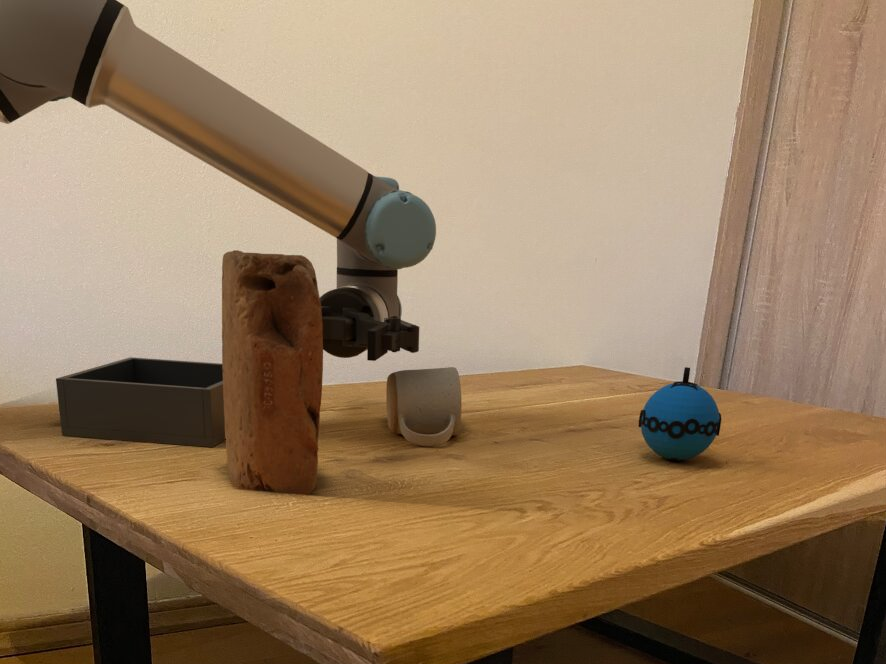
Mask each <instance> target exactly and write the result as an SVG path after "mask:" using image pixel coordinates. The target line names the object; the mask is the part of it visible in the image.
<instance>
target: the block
mask: <svg viewBox="0 0 886 664" xmlns="http://www.w3.org/2000/svg"><path fill="white" fill-rule="evenodd" d="M221 264H222V265H221V272H222V273H221V343H222V344H221V364H222V370H223V400H224V418H225V439H226V440H225V449H226V459H227V471H228V474H229V477H230V480H231V482H232V483H233V485H234V487H235V488H237V489H238V490H241V491H254V492H264V493H265V492H267V493H278V494H288V495H289V494H290V495H291V494H292V495H301V496H308V495H310V494H311V493H312V492H313V490H315V488H316V486H317V478H318V465H319V464H318V463H319V460H318V459H319V455H318V453H319V444H318V443H319V432H320V422H321V421H320V420H321V418H320V417H321V406H322V398H323V397H322V395H323V378H324V377H323V375H324V374H323V372H324V350H323V324H322V311H321V302H320V297H321V296H320V292H319V286H318V280H317V274H316V269H315V267H314V266H313V263H312V262H311V261H310V259H308V257H306V256H304V255H301V254H283V253H260V252H244V251H241V250H236V249H234V250H232V251H227V252H225V253H224V254H223V255H222V262H221Z"/></svg>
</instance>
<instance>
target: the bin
mask: <svg viewBox="0 0 886 664" xmlns="http://www.w3.org/2000/svg"><path fill="white" fill-rule="evenodd" d="M55 384H56V394H57V401H58V411H59V421H60V430H61V436H63V437H74V438H75V437H76V438H87V439H89V438H90V439H101V440H113V441H126V442H138V443H149V444H150V443H151V444H163V443H164V445H176V446H177V445H178V446H188V447H189V446H190V447H201V446H202V447H201V448H214V447H215V445H216V446H218V445H219V444H221V443H223V442H224V441H226V440H225V418H224V400H223V370H222V363H217V362H205V361H191V360H176V359H161V358H146V357H133V356H129V357H127V358H122V359H119V360H116V361H112V362H108V363H105V364H102V365H99V366H94V367H92V368H91V367H90V368H88V369H84V370H81V371H78V372H77V371H76V372H74V373H70V374H67V375H64V376H60V377H56V378H55ZM204 446H205V447H204Z"/></svg>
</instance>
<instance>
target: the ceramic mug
mask: <svg viewBox="0 0 886 664" xmlns="http://www.w3.org/2000/svg"><path fill="white" fill-rule="evenodd" d="M461 387H462V386H461V379H460V374H459V371H458V369H457V368H456V367H453V366H449V367H448V366H447V367H435V368H421V369H404V370H397V371H394V372H391V373H390V374H388V376H387V377H386V390H385V391H386V395H385V397H386V399H385V400H386V417H387V425H388V429H389V430H390V431H391V432H392V433H393V434H397V435H402V436H403V437H404V439H405V440H406V441H408V442H409V443H411V444H413V445H417V446H420V447H436V446H441V445H443V444H445V443H446V442H448V441H449V440H450V439H451V438H452V437H456V436H458V435H459V433H460V430H461V424H462V423H461V422H462V407H463V406H462V405H463V404H462V388H461Z"/></svg>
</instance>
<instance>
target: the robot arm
mask: <svg viewBox="0 0 886 664" xmlns="http://www.w3.org/2000/svg"><path fill="white" fill-rule="evenodd" d="M131 14H132V13H131V11H130V9H129V7H128V6H127V5H125V4H123V3H121V2H120V1H119V0H0V123H3V124H6V125H9V124H12V123H13V122H14V121H15V122H16V121H17V120H18V119H20V118H22V117H24V116H26V115H27V114H29V113H31V112H32V111H35V110H36V109H38V108H40V107H42V106H43V105H45V104H47V103H48V102H58V101H60V100H65V99H68V98H71V99H73V100H74V101H76V102H78V103H79V104H81V105H83V106H85V107H87V108H88V109H90V108H94V107H98V106H102V105H103V106H107V107H108V108H110V109H112V111H115V112H117V113H118V114H120V115H122V116H123V117H126V118H127V119H129V120H131V121H132V122H133V123H136V124H138V125H139V126H141V127H143V128H145V129H146V130H148V131H150V132H151V133H153V134H155V135H157V136H158V137H160V138H162V139H164V140H165V141H167V142H169V143H171V144H172V145H174V146H176V147H177V148H179V149H181V150H182V151H184V152H186V153H187V154H189V155H192V156H193V157H195V158H196V159H199V160H200V161H201V162H204V163H206V164H207V165H208V166H211V167H212V168H214V169H216V170H218V171H219V172H220V173H222V174H224V175H226V176H228V177H230V178H231V179H233V180H235V181H236V182H238V183H240V184H242V185H244V186H245V187H247V188H249V189H250V190H251V191H254V192H256V193H257V194H259V195H260V196H263V197H264V198H265V199H268V200H270V201H271V202H273V203H275V204H276V205H278V206H279V207H282V208H283V209H286V210H287V211H289V212H290V213H292V214H294V215H295V216H298V217H300V218H301V219H302V220H304V221H306V222H308V223H309V224H311V225H313V226H315V227H316V228H318V229H320V230H322V231H324V232H325V233H327V234H328V235H330V236H332V237H334V238H336V288H334V289H330V290H328V291H327V292H325V293H323V294H322V295H321V296H319V297H320V302H321V311H322V324H323V352H325V353H327V354H329V355H331V356H333V357H336V358H340V359H349V358H354V357H358V356H360V355H361V354H362V353H364V352H366V351H367V356H366V360H367V361H371V362H376V361H377V360H378V359H380V358H382V357H383V356H385V355H387V354H388V352H391V353H398V352H401V349H402V350H404V351H406V352H409V353H410V354H411V353H412V354H415V353H418V352H419V350H420V326H418V325H417V324H413V323H411V322H408V321H405V320H403V319H402V313H403V308H402V302H401V300H400V297H399V295H398V283H399V282H398V279H399V277H398V271H399V270H401V269H406V268H411V267H415V266H416V265H418V264H421V262H423V261H424V260H425V259H426V258H427V257H428V256H429V254H431V251H432V250H433V247H434V244H435V241H436V238H437V237H436V236H437V223H436V219H435V216H434V214H433V211H432V210H431V208H430V206H429V205H428V204H427V203H426V201H425V200H423V199H422V198H421V197H419V196H418V195H415V194H413V193H412V192H409V191H405V190H400V185H399V182H398V181H397V180H396V179H395V178H392V177H387V176H386V177H385V176H376V175H373V174H372V173H370V172H368V171H367V170H366V169H365V168H363V167H362V166H360V165H358V164H356V163H355V162H353V161H352V160H350V159H349V158H348V157H345V156H344V155H343V154H341V153H339V152H337V151H336V150H334V149H333V148H331V147H329V146H328V145H327V144H326V143H323V142H321V141H320V140H319V139H317V138H315V137H313V136H312V135H311V134H309V133H308V132H306V131H304V130H303V129H301V128H299V127H297V126H296V125H295V124H293V123H291V122H289V121H288V120H286V119H285V118H283V117H282V116H280V115H278V114H277V113H276V112H274V111H272V110H270V109H269V108H267V107H266V106H264V105H263V104H261V103H259V102H257V101H256V100H255V99H253V98H251V97H250V96H248V95H247V94H245V93H243V92H242V91H240V90H238V89H237V88H236V87H233V86H232V85H231V84H229V83H228V82H226V81H224V80H222V79H221V78H219V77H218V76H217V75H215V74H213V73H211V72H210V71H208V70H206V69H205V68H204V67H202V66H200V65H198V64H197V63H195V62H194V61H192V60H190V59H189V58H187V57H186V56H184V55H183V54H182V53H179V52H178V51H176V50H175V49H173V48H172V47H170V46H168V45H167V44H165V43H163V42H162V41H161V40H158V39H157V38H155V36H152V35H151V34H149V33H147V32H146V31H144V30H143V29H141V28H139V27H138V26H137V25H136V24H135V22H134V20H133V17H132V15H131Z"/></svg>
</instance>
